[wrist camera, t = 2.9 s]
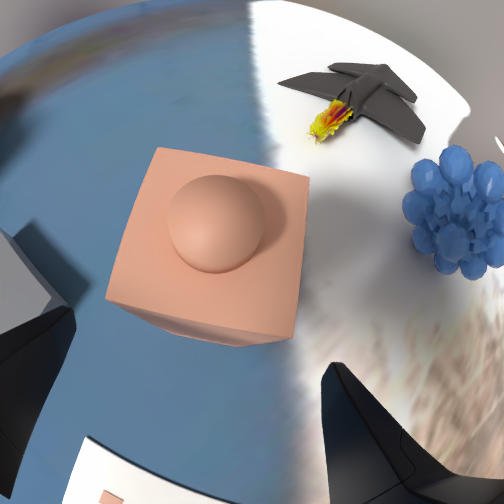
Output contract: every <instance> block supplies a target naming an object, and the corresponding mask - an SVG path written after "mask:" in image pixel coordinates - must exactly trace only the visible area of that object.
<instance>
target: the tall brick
mask: <svg viewBox="0 0 504 504" xmlns="http://www.w3.org/2000/svg"><path fill="white" fill-rule="evenodd" d="M308 192H309V177H307V176H303V175H299V174H295V173H291V172H287V171H282V170H278V169H274V168H270V167H265V166H261V165H256V164H251V163H247V162H242V161H237V160H232V159H227V158H222V157H216V156H211V155H205V154H199V153H193V152H187V151H181V150H174V149H168V148H161V147H158V148H157V150H156V152H155V154H154V157H153V159H152V161H151V164H150V166H149V168H148V171H147V173H146V176H145V178H144V181H143V183H142V186H141V188H140V191H139V193H138V196H137V198H136V201H135V204H134V206H133V209H132V212H131V215H130V218H129V220H128V223H127V226H126V229H125V232H124V235H123V238H122V241H121V244H120V248H119V251H118V254H117V257H116V261H115V264H114V267H113V271H112V274H111V278H110V282H109V285H108V289H107V293H106V297H105V299H106V300H108V301H110V302H112V303H113V304H115V305H117V306H119V307H121V308H122V309H124V310H126V311H128V312H130V313H132V314H134V315H136V316H137V317H139V318H141V319H143V320H145V321H147V322H149V323H151V324H153V325H155V326H157V327H159V328H161V329H163V330H165V331H167V332H169V333H171V334H175V335H180V336H184V337H189V338H193V339H198V340H203V341H208V342H213V343H218V344H224V345H229V346H235V347H242V346H249V345H256V344H262V343H268V342H274V341H280V340H286V339H291V338H293V334H294V327H295V319H296V311H297V303H298V295H299V287H300V278H301V269H302V260H303V250H304V239H305V229H306V217H307V205H308Z"/></svg>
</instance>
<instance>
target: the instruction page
mask: <svg viewBox="0 0 504 504" xmlns="http://www.w3.org/2000/svg"><path fill="white" fill-rule="evenodd" d="M62 504H230V503H227V502H223V501H220V500H217V499H214V498H211V497H208V496H205V495H202V494H199V493H197V492H194V491H191V490H189V489H186V488H183V487H181V486H178V485H176V484H174V483H171V482H169V481H167V480H164V479H162V478H160V477H158V476H156V475H153V474H151V473H149V472H147V471H145V470H143V469H141V468H139V467H137V466H135V465H133V464H131V463H130V462H128V461H126V460H124V459H122V458H120V457H119V456H117V455H115V454H113V453H112V452H110V451H108V450H107V449H105V448H103V447H102V446H100V445H99V444H97V443H95V442H94V441H92V440H91V439H89V438H88V437H85V439H84V442H83V445H82V447H81V450H80V453H79V455H78V458H77V461H76V463H75V466H74V469H73V472H72V475H71V478H70V481H69V484H68V487H67V490H66V493H65V496H64V499H63V502H62Z"/></svg>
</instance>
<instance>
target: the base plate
mask: <svg viewBox="0 0 504 504" xmlns="http://www.w3.org/2000/svg"><path fill="white" fill-rule="evenodd" d="M61 305H65V306H68V303H67V302H66V301H65V300H64V299H63V298H62V297H61V296H60V295H59V294H58V293H57V291H56V290H55V289H54V288H53V287H52V286H51V285H50V284H49V282H48V281H47V280H46V279H45V278H44V277H43V276H42V274H41V273H40V272H39V271H38V270H37V268H36V267H35V266H34V265H33V264H32V262H31V261H30V260H29V259H28V257H27V256H26V255H25V254H24V252H23V251H22V250H21V248H20V247H19V246H18V244H17V243H16V242H15V240H14V239H13V238H12V237H11V236H10V235H8V234H7V233H6V232H5V231H3V230H2V229H1V228H0V334H2V333H4V332H6V331H8V330H10V329H12V328H14V327H17V326H19V325H21V324H23V323H25V322H27V321H29V320H31V319H33V318H35V317H38V316H40V315H42V314H44V313H46V312H48V311H50V310H53V309H55V308H57V307H59V306H61Z"/></svg>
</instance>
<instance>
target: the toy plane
mask: <svg viewBox="0 0 504 504" xmlns="http://www.w3.org/2000/svg"><path fill="white" fill-rule="evenodd" d="M328 68H329V69H332V70H336V71H339V72H343V73H346V74H340V73H322V72H310V73H306V74H303V75H300V76H296V77H293V78H290V79H287V80H284V81H281V82H279V83H277V84H279V85H281V86H285V87H288V88H292V89H295V90H299V91H302V92H306V93H309V94H313V95H316V96H319V97H322V98H325V99H328V100H331V101H332V102H331V103H330V106H329V108H328V109H326V110H325V111H324V112H325V113H324V112H322V113H321V114H319V115H320V116H319V115H317V117H316V119H315V122H314V123H312V124H311V126H310V133H311V134H310V133H307V134H310V135H313V136H312V138H313V137H316V141H317V142H320V144H321V141H324V140H325V139H326V137H327V136H328V135H329V134H330V133H331V135H333V134H334V129H335V130H337V129H338V127H339V126H340V125H342V123H343V122H344V120H345V121H347V119H348V120H350V121H353V120H355V119H356V118H357V116H358V115H359V114H363V115H366V116H368V117H370V118H372V119H374V120H376V121H378V122H380V123H382V124H383V125H385V126H387V127H389V128H390V129H392V130H394V131H395V132H397V133H399V134H400V135H402V136H404V137H405V138H407V139H409V140H410V141H412V142H414V143H416V144H420V142H421V140H422V137H423V135H424V132H425V130H426V128H425V126H424V124H423V123H422V122H421V120H420V119H419V118H418V117H417V115H416V114H415V113H414V112H413V111H412V110H411V109H410V108H409V106H408V105H407V104H406V103H405V102H404V101H403V100H402V99H401V98H400V97H402V98H404V99H406V100H407V101H409V102H411V103H415V101H416V100H417V96H416V94H415V93H414V92H413V91H412V90H411V89H410V88H409V87H408V86H407V85H406V84H405V83H404V82H403V81H402V80H401V79H400V78H399V77H398V76H397V75H396V74H395V73H394V72H393V71H392V70H391V69H390V67H389V66H388V65H386V64H380V65H373V64H359V63H334V64H332V65H330V66H328ZM398 95H399V96H400V97H399V96H398ZM312 132H313V133H312ZM318 138H319V139H318ZM309 139H310V138H309Z"/></svg>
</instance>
